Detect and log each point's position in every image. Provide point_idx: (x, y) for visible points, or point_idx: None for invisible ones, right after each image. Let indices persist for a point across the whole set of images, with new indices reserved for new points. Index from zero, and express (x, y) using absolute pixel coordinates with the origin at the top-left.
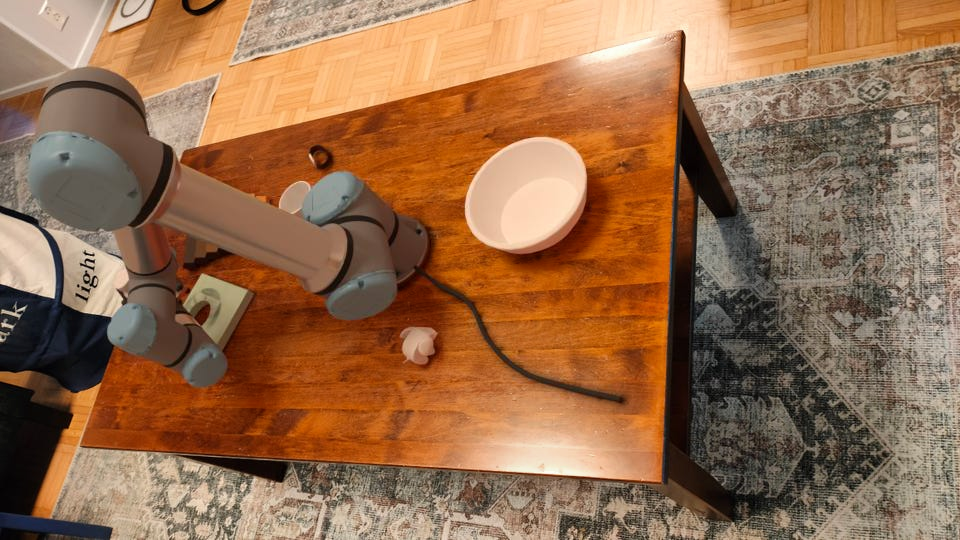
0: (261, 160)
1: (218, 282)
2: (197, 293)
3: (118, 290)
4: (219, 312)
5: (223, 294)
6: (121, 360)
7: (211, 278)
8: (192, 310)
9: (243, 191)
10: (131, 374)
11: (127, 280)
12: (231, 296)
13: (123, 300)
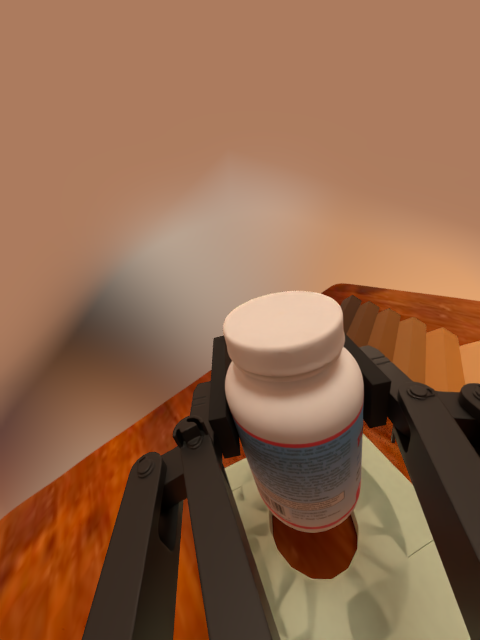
0: (472, 316)
1: (393, 474)
2: None
3: (217, 345)
4: (401, 613)
5: (418, 539)
6: (140, 426)
7: (368, 443)
8: None
9: (456, 336)
10: (123, 472)
11: (312, 337)
12: None
13: (206, 386)
